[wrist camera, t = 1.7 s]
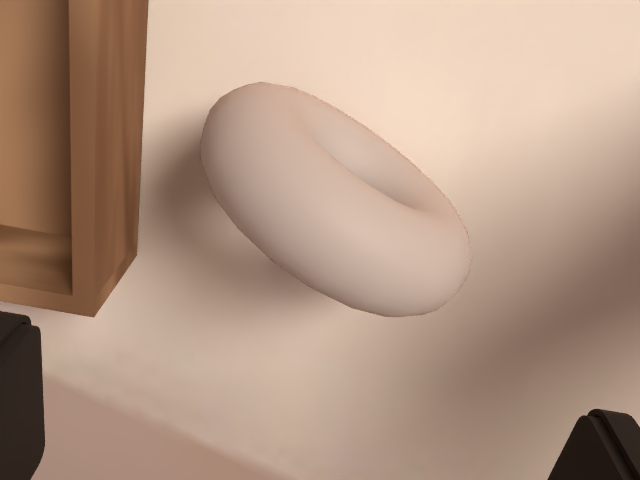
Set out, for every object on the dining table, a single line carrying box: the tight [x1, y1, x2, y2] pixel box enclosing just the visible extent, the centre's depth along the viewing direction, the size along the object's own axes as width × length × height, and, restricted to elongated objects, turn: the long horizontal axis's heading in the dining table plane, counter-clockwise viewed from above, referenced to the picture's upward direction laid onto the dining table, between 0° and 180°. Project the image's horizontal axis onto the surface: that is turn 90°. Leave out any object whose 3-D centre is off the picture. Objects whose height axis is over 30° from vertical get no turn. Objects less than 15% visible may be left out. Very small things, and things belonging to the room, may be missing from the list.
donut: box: [200, 82, 471, 317], centre depth 19 cm, size 10×4×10 cm, turn 56°
